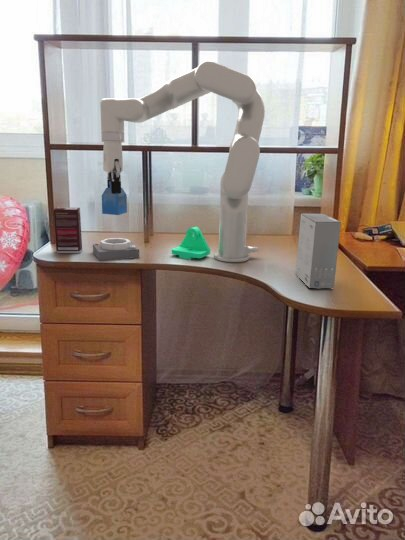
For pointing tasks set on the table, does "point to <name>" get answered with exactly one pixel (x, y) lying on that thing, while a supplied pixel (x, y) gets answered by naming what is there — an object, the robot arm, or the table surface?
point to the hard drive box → (317, 250)
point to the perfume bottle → (114, 202)
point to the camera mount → (192, 245)
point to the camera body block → (115, 249)
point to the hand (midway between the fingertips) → (114, 191)
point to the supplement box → (67, 230)
